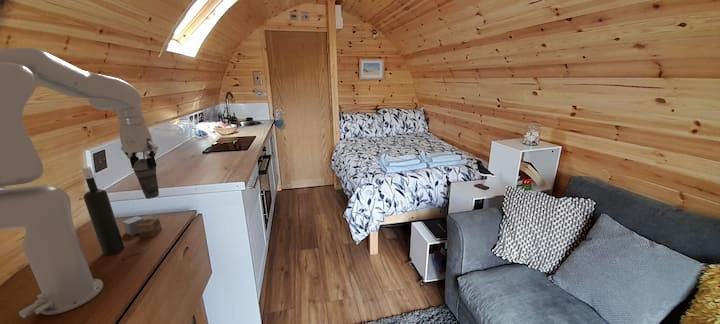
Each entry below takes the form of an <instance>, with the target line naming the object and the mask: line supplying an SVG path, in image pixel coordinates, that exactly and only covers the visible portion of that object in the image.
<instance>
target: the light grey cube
mask: <svg viewBox="0 0 720 324" xmlns="http://www.w3.org/2000/svg"><path fill="white" fill-rule="evenodd" d="M144 220H145V219H144V217H141V216H133V217H131V218H128V219H126V220H122V224H123V227H124V231H125V233H126V234H127V235H129V236H135V235H137V233H138V234H139V232H138V228H137V225H138V224H140V223H141V222H143V221H144Z"/></svg>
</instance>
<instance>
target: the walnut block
mask: <svg viewBox="0 0 720 324" xmlns="http://www.w3.org/2000/svg"><path fill="white" fill-rule="evenodd" d="M160 221H161V220H160V218H159V217H158V218H147V219H144V221H143V222H141V223H140V224H138V225H137V228H138V232H139V233H138V235H139V237H140V238H150V237H149V236H153V237H155V236H156V235H158V234H159V233H160V232H161V231H162V230H163V229H162V225H161V222H160ZM159 231H160V232H159ZM158 232H159V233H158ZM157 233H158V234H157Z"/></svg>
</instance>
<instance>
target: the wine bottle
mask: <svg viewBox="0 0 720 324" xmlns="http://www.w3.org/2000/svg"><path fill="white" fill-rule="evenodd" d="M81 169H82V174H83V176H84V177H83V178H84V179H85V181H86V183H87V184H86V185H87V187H88V191H87V192H86V193H84V195H83V200H84V203H85V207H86V209H87V212H88V215H89V217H90V220H91V223H92V226H93V229H94V232H95V235H96V238H97V241H98V244H99V246H100V250H101V252H102V254H103V256H106V257H108V256H113V255H116V254H119V253H120V252H122V251H123V250H125V245H124V242H123V239H122V236H121V233H120V230H119V226H118V223H117V220H116V217H115V214H114V211H113V208H112V204H111V200H110V198H109V195H108V192H107V191H106V190H105V189H99V188H98V187H97V183H96V180H95V176H94V173H93V170H92V168H91V166H85V167H82V168H81Z"/></svg>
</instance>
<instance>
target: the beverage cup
mask: <svg viewBox="0 0 720 324" xmlns="http://www.w3.org/2000/svg"><path fill="white" fill-rule="evenodd" d="M142 157H143V158H139V160H138V161H136V163H135V164H134V169H133V172H134V174H135V176H136V178H137V181H138V183H139V185H140V188H141V190H142V193H143V195H144V197H145V199H147V200H148V199H153V198H157V197H159V195H160V192H159V184H158V178H157V166H156V167H153V168H148V165H147V161H146V155H145V154H144V153H143V152H142Z"/></svg>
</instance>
